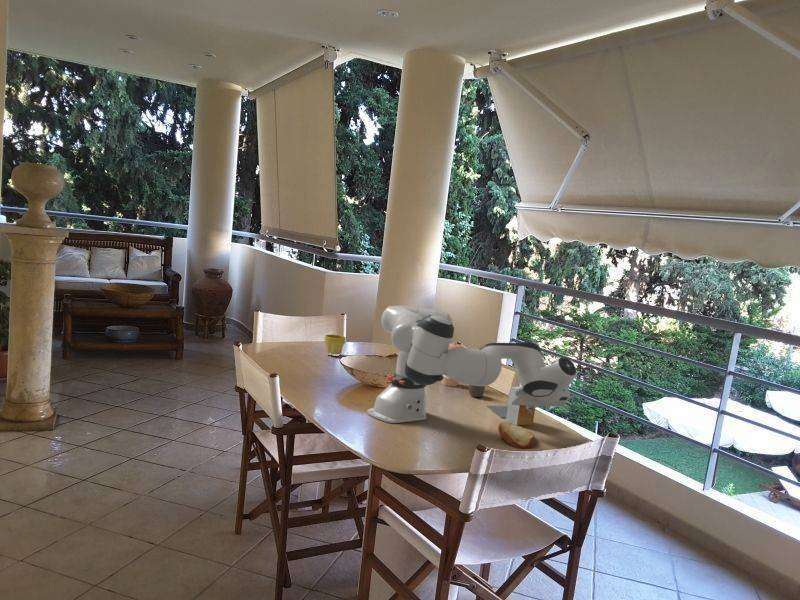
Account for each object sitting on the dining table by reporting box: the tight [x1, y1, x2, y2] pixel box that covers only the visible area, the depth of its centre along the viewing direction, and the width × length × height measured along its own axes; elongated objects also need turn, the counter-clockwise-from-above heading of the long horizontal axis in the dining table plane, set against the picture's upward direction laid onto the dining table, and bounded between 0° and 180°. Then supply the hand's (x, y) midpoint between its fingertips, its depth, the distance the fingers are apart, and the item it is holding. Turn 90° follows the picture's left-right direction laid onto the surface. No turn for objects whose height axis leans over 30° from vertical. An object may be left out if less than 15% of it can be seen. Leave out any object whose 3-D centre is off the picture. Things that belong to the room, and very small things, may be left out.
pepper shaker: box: [441, 341, 462, 387], centre depth 264 cm, size 7×7×19 cm
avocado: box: [468, 384, 486, 398], centre depth 250 cm, size 7×7×9 cm
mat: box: [486, 405, 508, 419], centre depth 231 cm, size 14×11×1 cm
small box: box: [505, 386, 536, 426], centre depth 220 cm, size 8×6×13 cm
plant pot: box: [324, 333, 347, 355], centre depth 297 cm, size 10×10×10 cm
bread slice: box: [497, 421, 536, 450], centre depth 203 cm, size 18×18×4 cm
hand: (529, 407), depth 215 cm, fingers closed
